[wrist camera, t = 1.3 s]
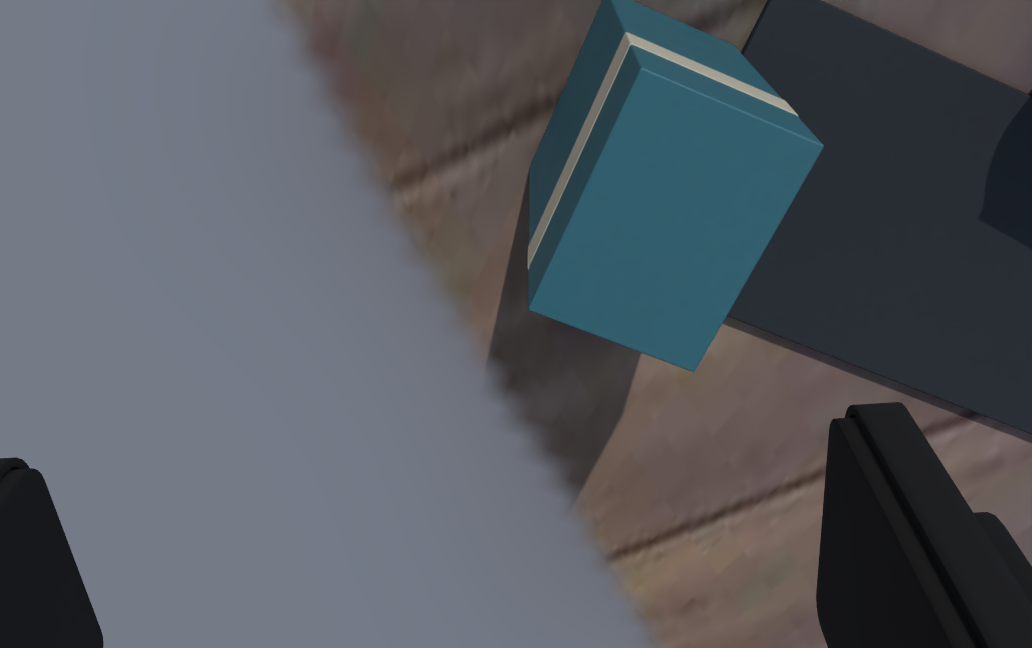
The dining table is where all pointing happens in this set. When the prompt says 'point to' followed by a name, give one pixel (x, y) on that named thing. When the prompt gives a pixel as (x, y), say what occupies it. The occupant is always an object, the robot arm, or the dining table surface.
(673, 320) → the carton
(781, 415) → the dining table surface
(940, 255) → the mat
